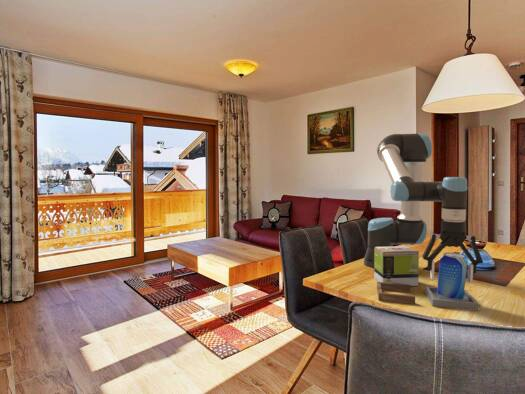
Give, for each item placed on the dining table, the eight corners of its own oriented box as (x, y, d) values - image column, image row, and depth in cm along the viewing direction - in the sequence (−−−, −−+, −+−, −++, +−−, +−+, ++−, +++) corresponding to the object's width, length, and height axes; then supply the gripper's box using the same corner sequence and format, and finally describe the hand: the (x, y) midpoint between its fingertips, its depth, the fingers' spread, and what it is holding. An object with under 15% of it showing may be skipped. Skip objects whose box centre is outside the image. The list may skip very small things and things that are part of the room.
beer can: (432, 296, 121) (436, 253, 120) (443, 292, 126) (447, 250, 125) (456, 304, 115) (461, 259, 113) (467, 299, 120) (472, 256, 118)
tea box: (407, 278, 146) (408, 245, 145) (418, 286, 136) (420, 250, 135) (373, 279, 145) (374, 245, 144) (382, 287, 135) (383, 251, 134)
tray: (425, 292, 129) (425, 286, 129) (466, 296, 125) (466, 289, 125) (432, 306, 116) (432, 299, 116) (478, 310, 112) (478, 303, 112)
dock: (376, 288, 134) (377, 281, 134) (409, 291, 130) (410, 284, 130) (378, 300, 121) (378, 293, 121) (415, 304, 118) (415, 297, 117)
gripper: (418, 220, 118) (416, 280, 120) (496, 223, 111) (493, 287, 113) (415, 217, 125) (413, 274, 127) (488, 220, 118) (485, 280, 120)
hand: (450, 280), depth 120 cm, fingers open, 11 cm apart
